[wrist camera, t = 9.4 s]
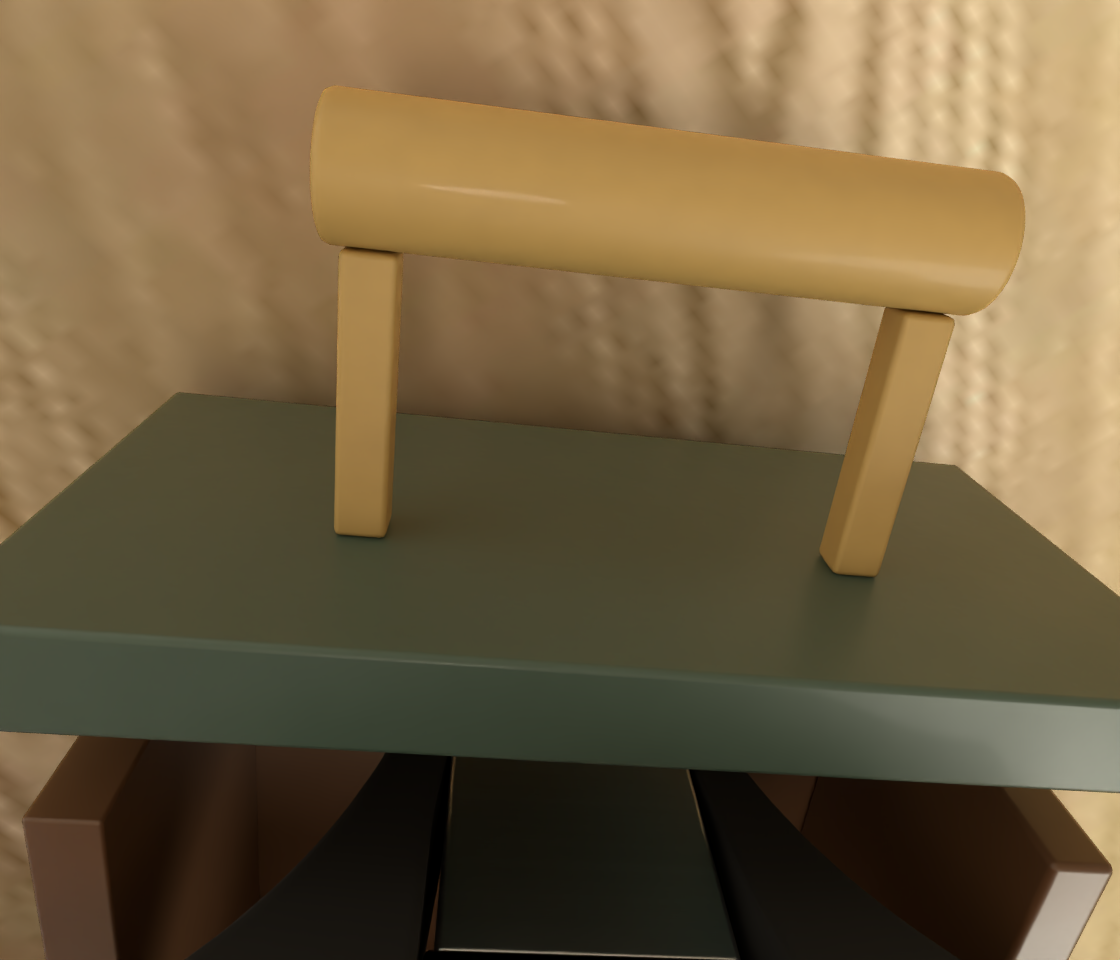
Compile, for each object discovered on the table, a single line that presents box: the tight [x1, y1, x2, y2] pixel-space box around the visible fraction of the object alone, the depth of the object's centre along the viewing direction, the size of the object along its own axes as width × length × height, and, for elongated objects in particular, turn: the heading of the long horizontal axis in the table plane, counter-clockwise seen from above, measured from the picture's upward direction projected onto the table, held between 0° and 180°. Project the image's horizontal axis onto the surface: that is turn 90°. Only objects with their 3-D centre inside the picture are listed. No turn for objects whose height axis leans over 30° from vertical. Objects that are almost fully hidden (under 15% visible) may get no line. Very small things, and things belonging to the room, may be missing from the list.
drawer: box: [0, 85, 1120, 960], centre depth 13 cm, size 18×13×7 cm
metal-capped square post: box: [423, 756, 741, 960], centre depth 12 cm, size 4×4×6 cm
